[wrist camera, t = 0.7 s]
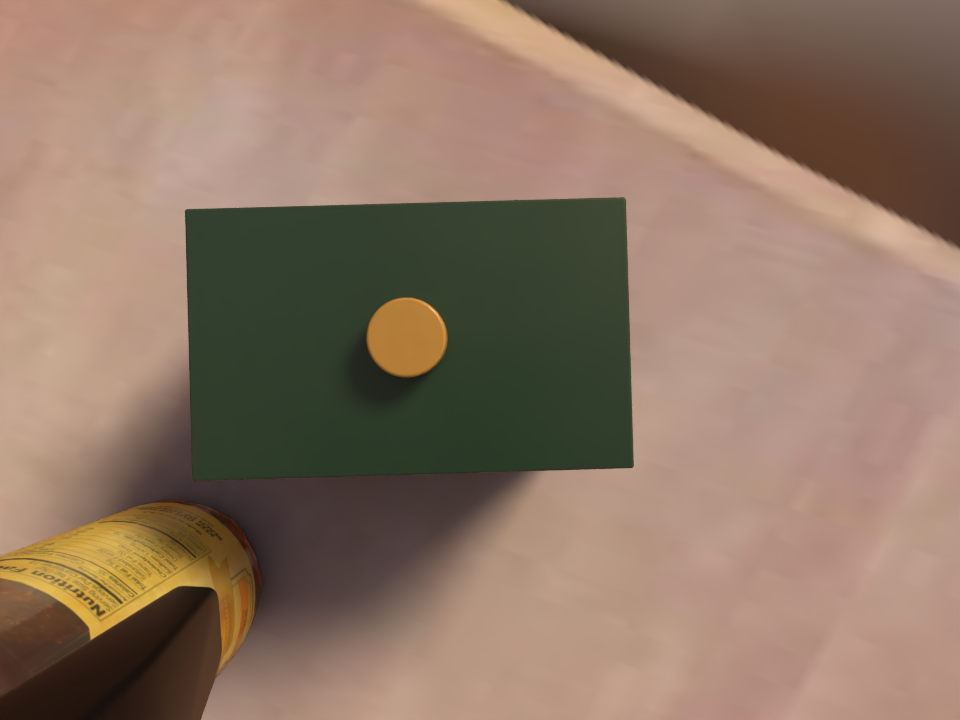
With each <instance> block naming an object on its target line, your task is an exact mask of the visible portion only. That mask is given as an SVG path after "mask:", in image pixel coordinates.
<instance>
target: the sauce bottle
mask: <svg viewBox="0 0 960 720" xmlns="http://www.w3.org/2000/svg"><path fill="white" fill-rule="evenodd" d="M179 586H198V587H210V588H213V589H214V590H215V591H216V593H217V595H218V599H219V611H220V624H221V637H222V654H221V660H220V664H219V668H218V671H217V674H216V677H217V675H218V674H219V673H220V672H221V671H222V670H223V668H224V667H225V666H226V665H227V664H228V662H229V661H230V660H231V659H232V658H233V657H234V655H235V654H236V652H237V651H238V649H239V648H240V647H241V645H242V644H243V642H244V640H245V638H246V636H247V633H248V631H249V628H250V626H251V623H252V620H253V617H254V616H255V612H256V608H257V605H258V601H259V597H260V594H261V586H262V578H261V575H260V571H259V565H258V561H257V559H256V556H255V555H254V551H253V549H252V547H251V546H250V544H249V542H248V540H247V539H246V537H245V535H244V533H243V530H242V529H241V528H240V527H239V526H238V525H237V524H236V522H235V521H233V520H232V519H231V518H229V517H227V516H225V515H223V514H221V513H219V512H217V511H216V510H214V509H211V508H209V507H206V506H204V505H200V504H195V503H188V502H183V501H180V500H159V501H156V502H154V503H151V504H144V505H139V506H136V507H132V508H130V509H127V510H124V511H122V512H119V513H116V514H114V515H111V516H108V517H105V518H103V519H100V520H97V521H95V522H92V523H89V524H87V525H84V526H81V527H78V528H76V529H73V530H70V531H68V532H65V533H62V534H59V535H57V536H54V537H51V538H49V539H46V540H43V541H41V542H38V543H35V544H32V545H30V546H27V547H24V548H22V549H19V550H16V551H14V552H11V553H8V554H5V555H3V556H0V696H1V695H2V694H4V693H5V692H7V691H9V690H10V689H12V688H14V687H15V686H17V685H18V684H20V683H22V682H23V681H25V680H27V679H28V678H30V677H31V676H33V675H35V674H36V673H38V672H40V671H41V670H43V669H44V668H46V667H48V666H49V665H51V664H52V663H54V662H56V661H57V660H59V659H61V658H62V657H64V656H65V655H67V654H69V653H70V652H72V651H74V650H75V649H77V648H78V647H80V646H82V645H83V644H85V643H86V642H88V641H90V640H91V639H93V638H95V637H96V636H98V635H99V634H101V633H103V632H104V631H106V630H108V629H109V628H111V627H112V626H114V625H116V624H117V623H119V622H121V621H122V620H124V619H125V618H127V617H129V616H130V615H132V614H133V613H135V612H137V611H138V610H140V609H142V608H143V607H145V606H146V605H148V604H150V603H151V602H153V601H155V600H156V599H158V598H159V597H161V596H163V595H164V594H166V593H168V592H169V591H171V590H172V589H174V588H176V587H179ZM216 677H215V678H216Z"/></svg>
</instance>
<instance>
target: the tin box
mask: <svg viewBox="0 0 960 720" xmlns="http://www.w3.org/2000/svg"><path fill="white" fill-rule="evenodd" d="M185 223H186V260H187V297H188V333H189V370H190V407H191V444H192V479H193V480H194V481H210V480H244V479H278V478H311V477H345V476H378V475H412V474H446V473H479V472H513V471H546V470H580V469H614V468H632V467H633V466H634V460H633V426H632V392H631V358H630V325H629V291H628V257H627V223H626V199H625V198H624V197H620V198H583V199H547V200H510V201H473V202H436V203H400V204H363V205H326V206H290V207H253V208H216V209H187V210H185Z"/></svg>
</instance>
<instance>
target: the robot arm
mask: <svg viewBox="0 0 960 720" xmlns="http://www.w3.org/2000/svg"><path fill="white" fill-rule="evenodd" d="M221 654H222V637H221V624H220V611H219V599H218V595H217V593H216V591H215V590H214V589H213V588H210V587H198V586H179V587H176V588H174V589H172V590H171V591H169V592H168V593H166V594H164V595H163V596H161V597H159V598H158V599H156V600H155V601H153V602H151V603H150V604H148V605H146V606H145V607H143V608H142V609H140V610H138V611H137V612H135V613H133V614H132V615H130V616H129V617H127V618H125V619H124V620H122V621H121V622H119V623H117V624H116V625H114V626H112V627H111V628H109V629H108V630H106V631H104V632H103V633H101V634H99V635H98V636H96V637H95V638H93V639H91V640H90V641H88V642H86V643H85V644H83V645H82V646H80V647H78V648H77V649H75V650H74V651H72V652H70V653H69V654H67V655H65V656H64V657H62V658H61V659H59V660H57V661H56V662H54V663H52V664H51V665H49V666H48V667H46V668H44V669H43V670H41V671H40V672H38V673H36V674H35V675H33V676H31V677H30V678H28V679H27V680H25V681H23V682H22V683H20V684H18V685H17V686H15V687H14V688H12V689H10V690H9V691H7V692H5V693H4V694H2V695H1V696H0V720H201V717H202V714H203V711H204V709H205V706H206V703H207V700H208V697H209V694H210V691H211V688H212V686H213V683H214V680H215V677H216V674H217V671H218V668H219V664H220V660H221Z"/></svg>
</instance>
